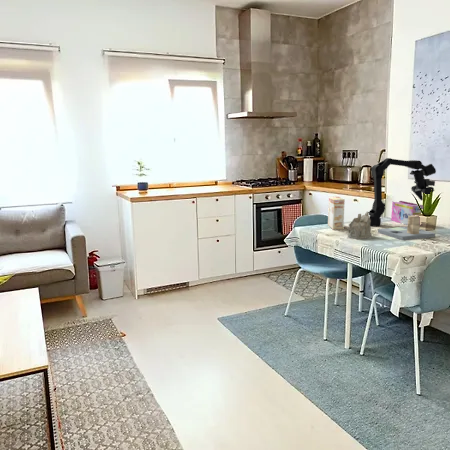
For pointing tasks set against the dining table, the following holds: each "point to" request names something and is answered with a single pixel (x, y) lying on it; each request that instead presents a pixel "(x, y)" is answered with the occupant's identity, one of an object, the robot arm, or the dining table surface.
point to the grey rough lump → (360, 227)
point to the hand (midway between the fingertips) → (425, 201)
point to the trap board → (405, 233)
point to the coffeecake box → (336, 213)
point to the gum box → (404, 211)
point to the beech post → (413, 224)
